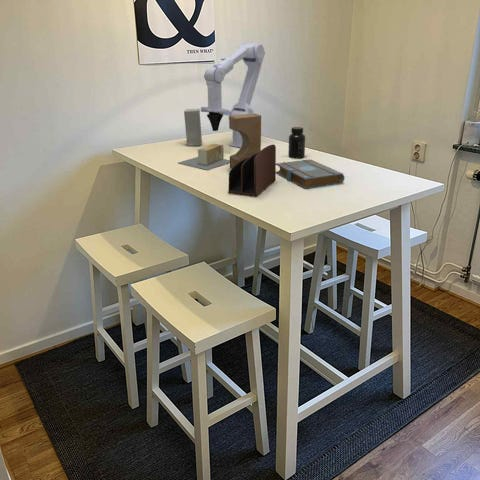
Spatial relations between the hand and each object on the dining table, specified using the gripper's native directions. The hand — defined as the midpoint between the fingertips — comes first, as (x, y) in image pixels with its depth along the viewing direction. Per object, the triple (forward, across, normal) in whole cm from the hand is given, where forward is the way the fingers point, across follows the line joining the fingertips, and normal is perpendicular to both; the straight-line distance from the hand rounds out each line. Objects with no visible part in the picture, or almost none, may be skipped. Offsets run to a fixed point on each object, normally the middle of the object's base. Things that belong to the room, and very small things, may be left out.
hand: (215, 130), depth 206 cm
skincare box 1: (+10, -17, +5) cm, 20 cm away
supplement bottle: (+10, +32, +15) cm, 36 cm away
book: (+10, +51, -9) cm, 53 cm away
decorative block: (+9, +25, -12) cm, 30 cm away
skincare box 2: (+6, +9, -8) cm, 13 cm away
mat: (+9, +8, -16) cm, 20 cm away
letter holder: (+10, +42, -29) cm, 52 cm away
